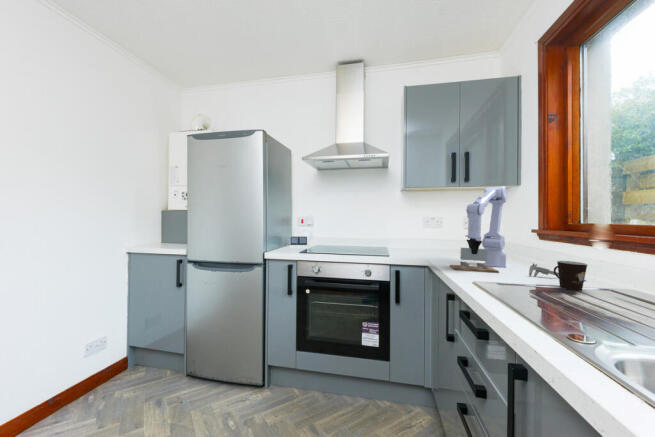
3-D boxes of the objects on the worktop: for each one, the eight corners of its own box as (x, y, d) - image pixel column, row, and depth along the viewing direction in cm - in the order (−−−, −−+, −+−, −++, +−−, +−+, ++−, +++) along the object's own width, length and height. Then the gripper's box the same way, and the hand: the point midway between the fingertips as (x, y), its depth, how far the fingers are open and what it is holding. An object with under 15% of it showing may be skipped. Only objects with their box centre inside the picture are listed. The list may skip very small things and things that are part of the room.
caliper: (529, 276, 125) (530, 263, 125) (529, 276, 126) (529, 262, 126) (586, 282, 117) (587, 267, 117) (585, 281, 118) (585, 267, 118)
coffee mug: (577, 286, 107) (578, 261, 107) (592, 292, 98) (593, 265, 98) (542, 283, 110) (543, 259, 110) (554, 289, 102) (555, 263, 101)
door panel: (485, 260, 136) (486, 248, 136) (487, 261, 134) (487, 249, 134) (460, 259, 139) (460, 247, 139) (461, 259, 137) (461, 248, 137)
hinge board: (490, 268, 140) (491, 262, 140) (498, 272, 130) (499, 266, 130) (449, 266, 144) (449, 260, 144) (454, 270, 134) (454, 263, 134)
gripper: (462, 226, 144) (461, 251, 145) (470, 227, 130) (469, 255, 130) (476, 226, 143) (475, 252, 143) (486, 227, 129) (485, 256, 129)
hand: (473, 253), depth 137 cm, fingers closed on door panel, 2 cm apart
